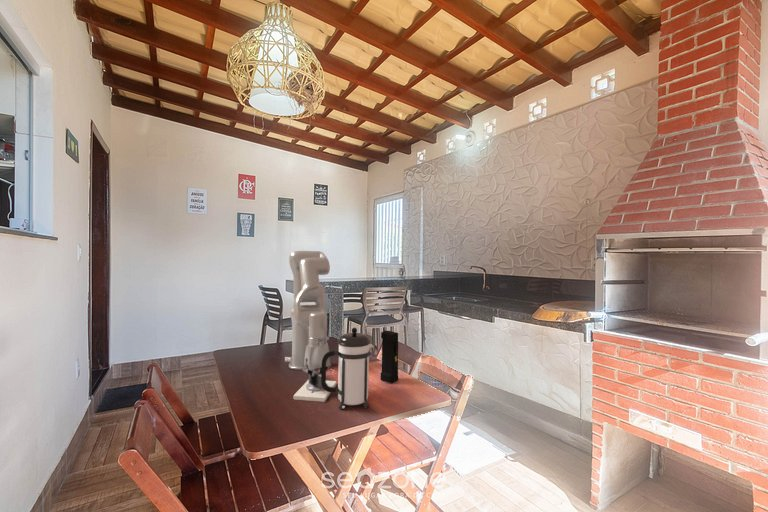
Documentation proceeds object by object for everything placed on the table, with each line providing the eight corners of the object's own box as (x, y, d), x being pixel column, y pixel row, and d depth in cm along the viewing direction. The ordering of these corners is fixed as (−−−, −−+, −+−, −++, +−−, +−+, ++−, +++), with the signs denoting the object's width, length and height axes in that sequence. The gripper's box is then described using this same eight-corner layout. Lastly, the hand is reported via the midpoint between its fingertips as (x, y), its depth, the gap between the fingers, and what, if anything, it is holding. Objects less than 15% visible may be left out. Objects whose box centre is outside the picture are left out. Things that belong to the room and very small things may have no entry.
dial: (302, 386, 146) (302, 372, 146) (319, 381, 153) (319, 367, 153) (314, 392, 140) (314, 378, 140) (331, 386, 146) (331, 373, 146)
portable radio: (400, 381, 159) (401, 327, 159) (392, 384, 155) (393, 329, 154) (388, 376, 164) (389, 325, 164) (379, 379, 160) (380, 326, 160)
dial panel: (293, 399, 137) (293, 395, 137) (308, 382, 155) (308, 378, 155) (324, 401, 136) (324, 397, 136) (336, 384, 153) (336, 380, 153)
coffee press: (351, 391, 146) (352, 321, 146) (379, 402, 136) (380, 327, 136) (319, 405, 133) (320, 328, 132) (348, 418, 123) (349, 335, 122)
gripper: (330, 336, 154) (329, 377, 154) (296, 341, 144) (295, 385, 144) (338, 340, 148) (338, 382, 148) (303, 345, 138) (303, 391, 138)
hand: (317, 383), depth 146 cm, fingers closed on dial, 2 cm apart
